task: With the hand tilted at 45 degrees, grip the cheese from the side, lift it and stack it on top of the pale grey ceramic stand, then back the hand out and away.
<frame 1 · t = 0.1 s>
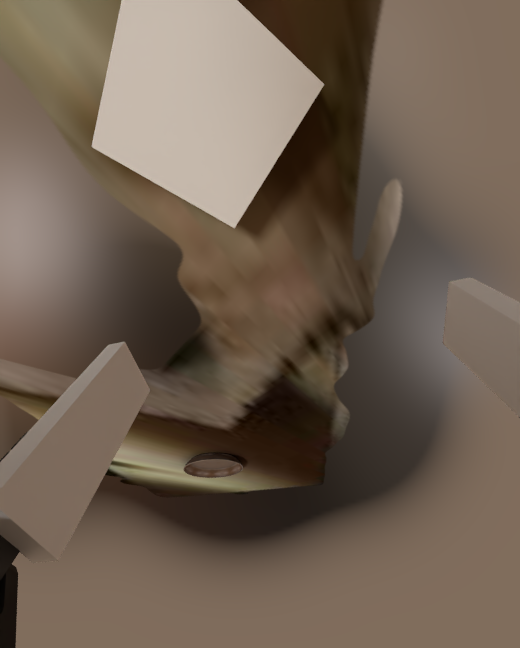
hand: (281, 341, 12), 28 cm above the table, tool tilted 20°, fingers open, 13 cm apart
plant saucer: (214, 459, 101), on the table
stand: (206, 106, 28), on the table
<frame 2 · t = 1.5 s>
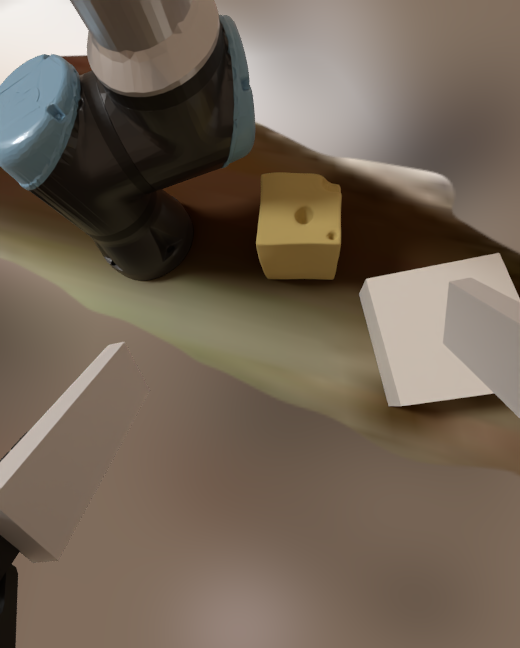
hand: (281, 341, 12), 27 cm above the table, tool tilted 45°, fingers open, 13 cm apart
cheese: (301, 251, 42), on the table
stand: (433, 336, 36), on the table
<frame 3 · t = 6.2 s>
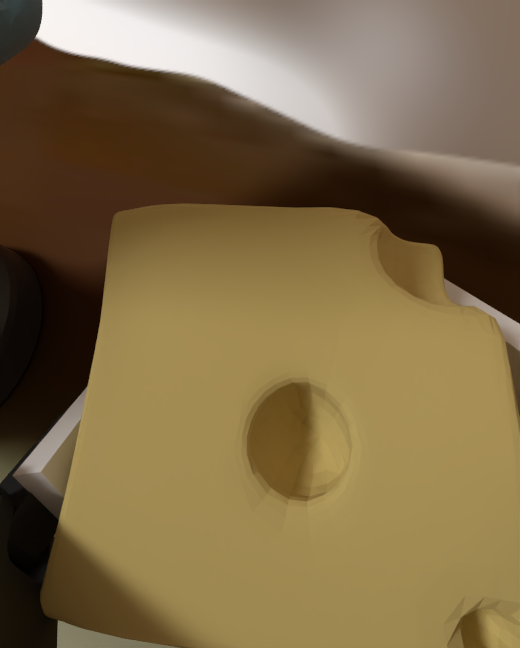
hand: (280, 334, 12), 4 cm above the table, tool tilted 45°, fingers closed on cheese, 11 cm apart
cheese: (293, 402, 16), on the table, touching gripper
when the fingers open (11 cm above the table, at t = 12.8 s): cheese drops 1 cm, resting on stand.
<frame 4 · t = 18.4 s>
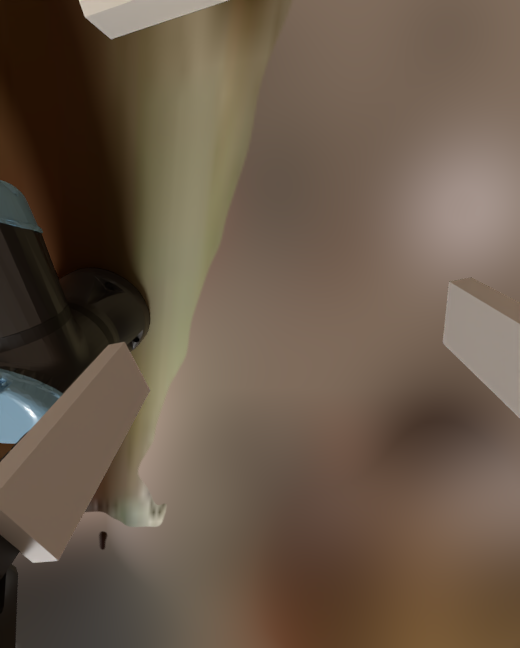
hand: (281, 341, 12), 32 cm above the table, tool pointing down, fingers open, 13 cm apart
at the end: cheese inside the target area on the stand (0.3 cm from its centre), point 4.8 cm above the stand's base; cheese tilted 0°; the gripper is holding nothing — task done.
